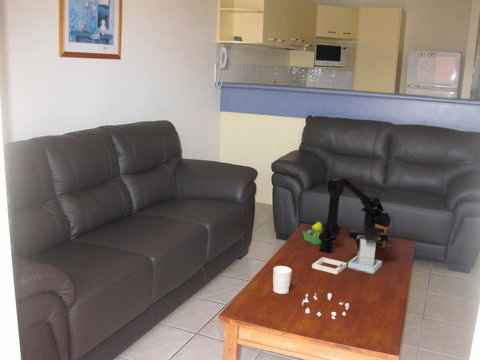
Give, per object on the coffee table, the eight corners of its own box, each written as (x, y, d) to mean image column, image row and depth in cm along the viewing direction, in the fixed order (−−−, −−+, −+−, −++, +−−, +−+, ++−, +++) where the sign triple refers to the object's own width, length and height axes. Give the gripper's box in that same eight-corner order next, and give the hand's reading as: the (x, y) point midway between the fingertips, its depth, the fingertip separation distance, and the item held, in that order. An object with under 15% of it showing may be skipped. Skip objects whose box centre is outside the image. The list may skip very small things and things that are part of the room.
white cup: (291, 289, 232) (293, 267, 230) (287, 296, 225) (289, 273, 223) (274, 286, 235) (276, 264, 233) (269, 292, 227) (271, 270, 225)
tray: (347, 267, 262) (348, 262, 261) (356, 260, 273) (357, 255, 272) (373, 274, 256) (374, 268, 255) (381, 266, 267) (382, 260, 266)
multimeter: (393, 244, 303) (398, 211, 299) (391, 249, 294) (395, 215, 290) (368, 240, 309) (371, 207, 305) (364, 244, 300) (368, 210, 296)
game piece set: (315, 294, 229) (316, 286, 228) (357, 309, 217) (358, 300, 216) (290, 308, 214) (291, 299, 213) (334, 325, 202) (335, 315, 201)
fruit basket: (301, 239, 303) (302, 220, 301) (313, 237, 308) (315, 219, 305) (313, 245, 294) (315, 225, 291) (325, 243, 298) (327, 224, 296)
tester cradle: (311, 268, 259) (312, 263, 258) (322, 260, 270) (322, 255, 269) (337, 274, 253) (337, 269, 252) (346, 266, 263) (347, 261, 263)
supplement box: (371, 262, 267) (374, 238, 265) (373, 267, 260) (376, 243, 258) (356, 260, 268) (359, 237, 265) (358, 266, 261) (361, 241, 258)
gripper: (352, 224, 252) (349, 255, 256) (392, 227, 251) (388, 259, 254) (349, 218, 263) (346, 248, 266) (387, 221, 262) (384, 251, 265)
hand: (366, 251), depth 263 cm, fingers closed on supplement box, 7 cm apart
